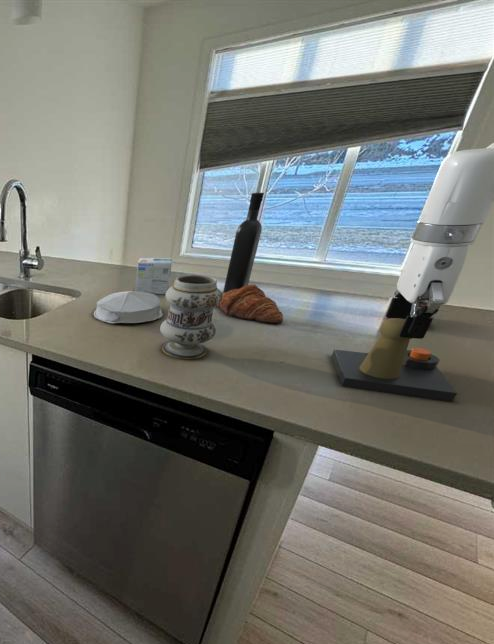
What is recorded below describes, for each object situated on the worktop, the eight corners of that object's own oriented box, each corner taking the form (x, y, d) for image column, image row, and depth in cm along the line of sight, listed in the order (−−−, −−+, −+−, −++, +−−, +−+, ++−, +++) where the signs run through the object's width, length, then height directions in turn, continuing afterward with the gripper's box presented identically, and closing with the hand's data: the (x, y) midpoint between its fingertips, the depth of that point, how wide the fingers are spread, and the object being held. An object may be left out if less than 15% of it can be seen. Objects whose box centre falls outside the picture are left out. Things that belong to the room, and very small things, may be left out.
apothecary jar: (190, 337, 106) (203, 269, 97) (221, 357, 96) (240, 282, 87) (148, 344, 105) (157, 275, 96) (174, 364, 94) (188, 289, 85)
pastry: (276, 306, 119) (284, 280, 115) (282, 325, 108) (291, 296, 104) (212, 302, 127) (218, 276, 123) (211, 319, 115) (217, 292, 111)
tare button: (425, 355, 83) (429, 349, 82) (430, 361, 81) (433, 354, 80) (407, 354, 84) (410, 347, 83) (411, 359, 82) (414, 352, 81)
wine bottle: (221, 295, 131) (243, 194, 116) (228, 290, 134) (250, 191, 119) (240, 298, 128) (265, 194, 113) (246, 293, 131) (272, 191, 116)
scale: (426, 367, 85) (434, 352, 83) (452, 401, 74) (462, 385, 72) (330, 356, 92) (336, 342, 90) (341, 386, 81) (348, 370, 80)
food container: (155, 330, 112) (159, 306, 109) (85, 322, 121) (86, 300, 118) (167, 306, 127) (170, 285, 123) (103, 300, 136) (105, 280, 132)
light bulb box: (168, 288, 141) (173, 257, 135) (167, 295, 135) (172, 262, 130) (136, 287, 145) (139, 257, 139) (133, 293, 140) (137, 262, 134)
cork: (355, 362, 85) (377, 313, 79) (393, 366, 82) (418, 316, 77) (364, 376, 80) (387, 324, 75) (404, 381, 78) (431, 328, 72)
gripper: (500, 244, 60) (447, 348, 68) (456, 223, 73) (416, 313, 81) (430, 244, 63) (388, 343, 72) (400, 224, 76) (367, 310, 85)
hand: (402, 327), depth 76 cm, fingers open, 9 cm apart
